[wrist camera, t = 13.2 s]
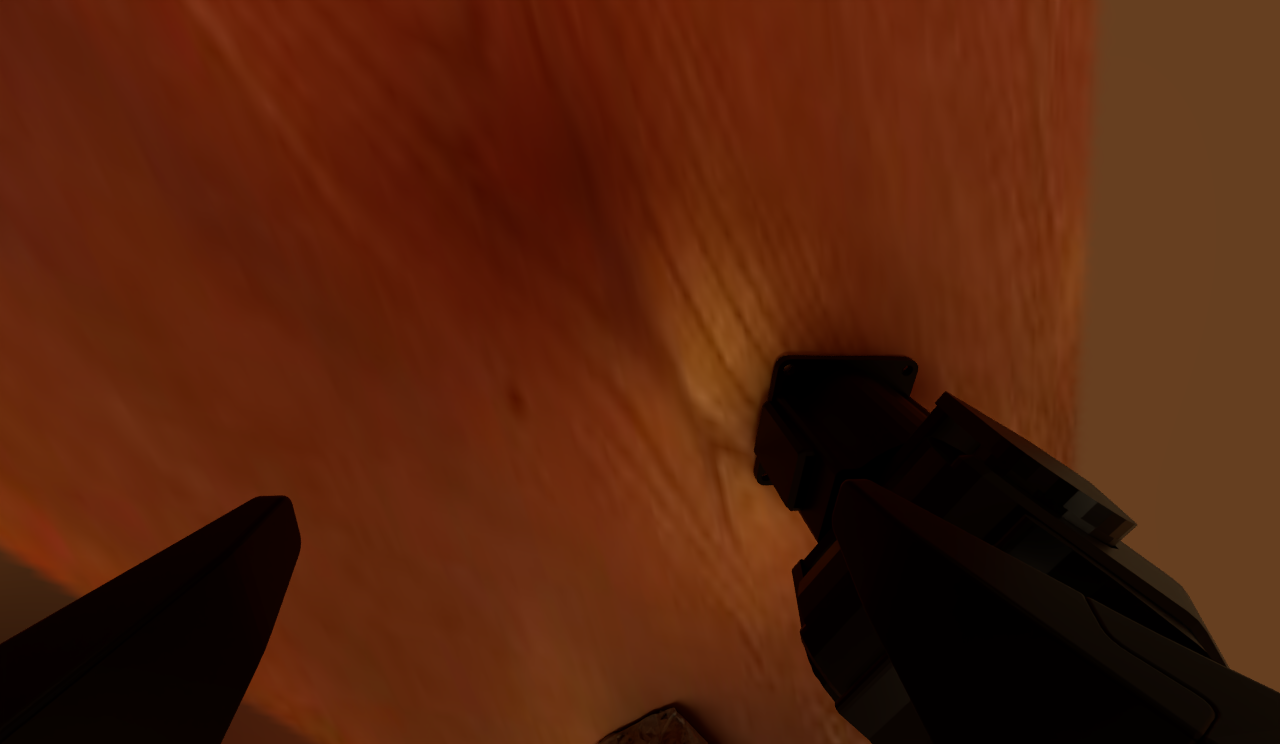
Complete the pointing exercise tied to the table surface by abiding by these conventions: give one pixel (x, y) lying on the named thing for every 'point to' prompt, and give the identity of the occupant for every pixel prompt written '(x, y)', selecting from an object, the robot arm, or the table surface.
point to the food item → (658, 731)
